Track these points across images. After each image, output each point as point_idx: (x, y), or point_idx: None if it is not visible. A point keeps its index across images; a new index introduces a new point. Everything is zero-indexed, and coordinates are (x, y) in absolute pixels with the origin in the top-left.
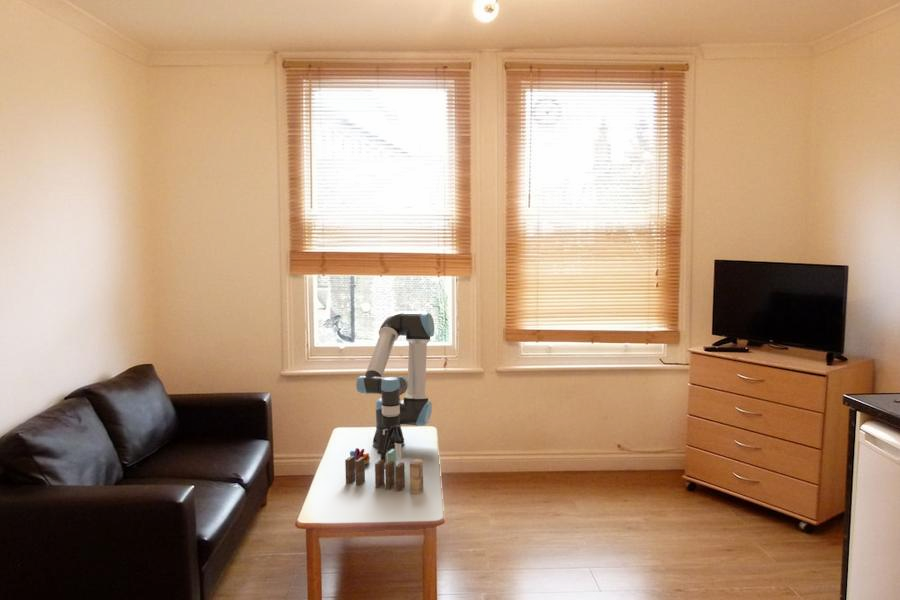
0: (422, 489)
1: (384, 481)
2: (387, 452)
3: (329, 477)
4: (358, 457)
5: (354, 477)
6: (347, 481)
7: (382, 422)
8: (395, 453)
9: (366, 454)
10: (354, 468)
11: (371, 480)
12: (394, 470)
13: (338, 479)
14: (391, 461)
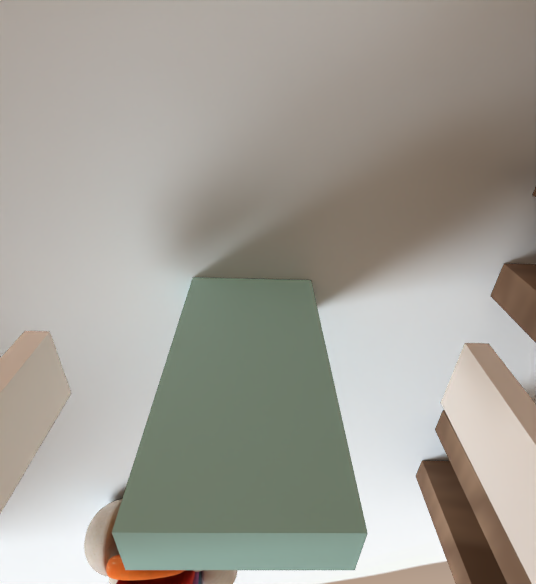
0: None
1: (520, 275)
2: (341, 569)
3: (406, 549)
4: (192, 579)
5: (440, 477)
6: None
7: None
8: (148, 451)
9: (149, 578)
10: (467, 549)
11: (431, 378)
12: (227, 292)
13: (430, 517)
14: None
